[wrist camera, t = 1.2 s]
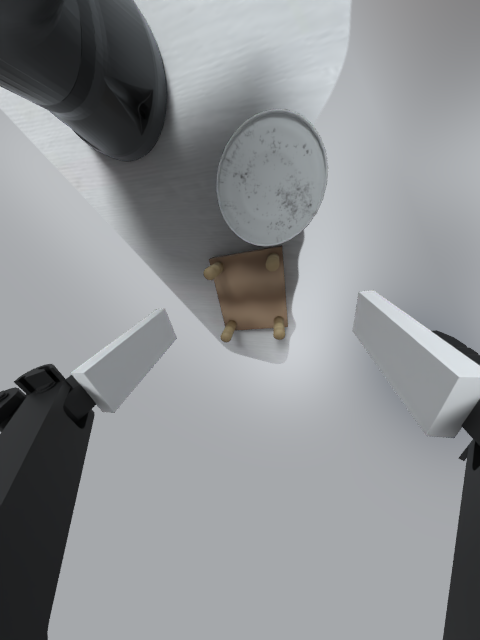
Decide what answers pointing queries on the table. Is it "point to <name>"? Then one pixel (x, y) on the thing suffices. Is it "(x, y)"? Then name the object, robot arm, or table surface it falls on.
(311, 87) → the table surface
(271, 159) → the grey marbled cylinder
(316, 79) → the table surface
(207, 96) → the table surface
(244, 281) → the peg stand
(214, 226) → the table surface
